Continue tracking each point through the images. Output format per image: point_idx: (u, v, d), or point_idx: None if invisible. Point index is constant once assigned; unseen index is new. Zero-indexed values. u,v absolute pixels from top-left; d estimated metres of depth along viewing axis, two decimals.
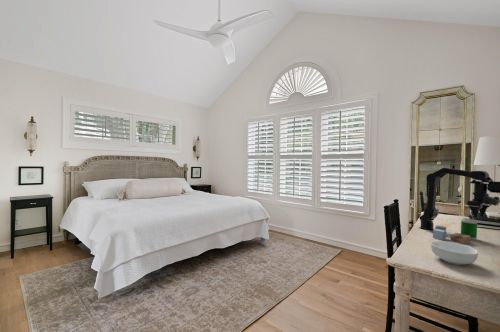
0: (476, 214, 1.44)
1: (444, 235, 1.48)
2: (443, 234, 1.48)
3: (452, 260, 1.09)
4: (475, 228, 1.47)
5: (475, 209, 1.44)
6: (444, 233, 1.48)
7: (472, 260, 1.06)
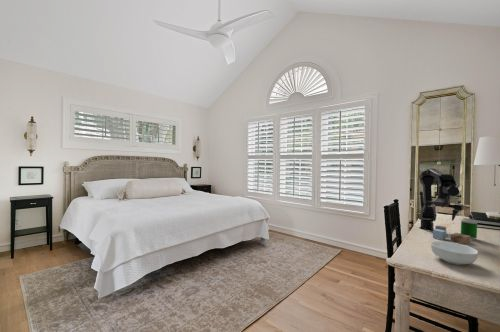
0: None
1: (444, 235, 1.48)
2: (443, 234, 1.48)
3: (452, 260, 1.09)
4: (475, 228, 1.47)
5: None
6: (444, 233, 1.48)
7: (472, 260, 1.06)
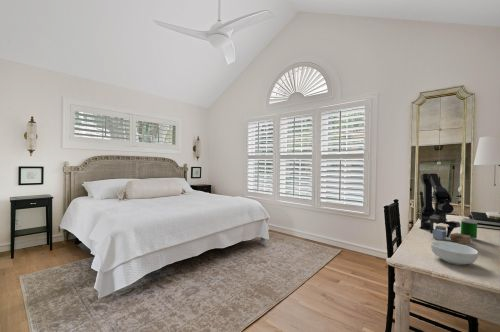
0: None
1: (444, 235, 1.48)
2: (443, 234, 1.48)
3: (452, 260, 1.09)
4: (475, 228, 1.47)
5: None
6: (444, 233, 1.48)
7: (472, 260, 1.06)
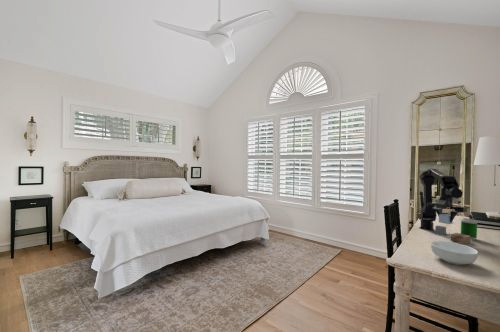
0: None
1: None
2: None
3: (452, 260, 1.09)
4: (475, 228, 1.47)
5: None
6: None
7: (472, 260, 1.06)
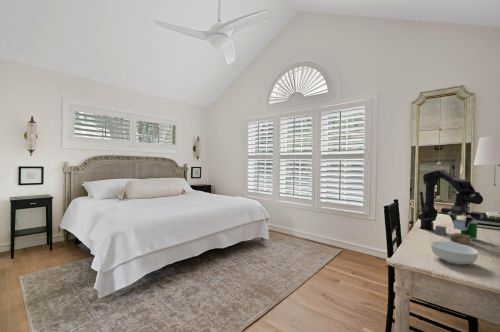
0: None
1: None
2: (465, 224, 1.42)
3: (452, 260, 1.09)
4: (475, 228, 1.47)
5: None
6: None
7: (472, 260, 1.06)
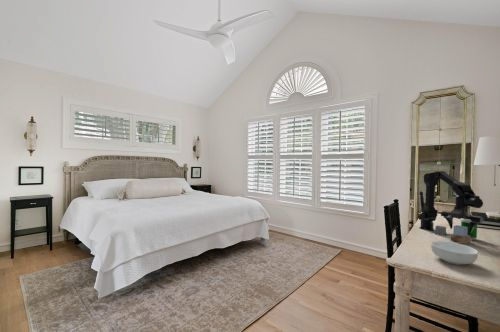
0: None
1: (465, 231, 1.42)
2: (465, 230, 1.42)
3: (452, 260, 1.09)
4: (475, 228, 1.47)
5: None
6: (465, 229, 1.42)
7: (472, 260, 1.06)
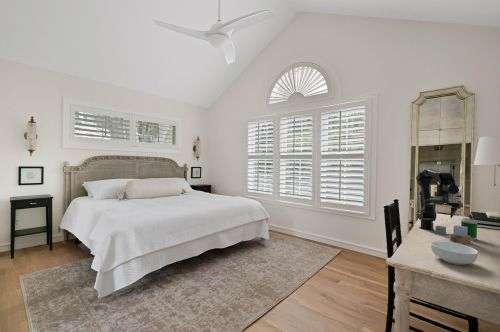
0: None
1: (465, 231, 1.42)
2: (465, 230, 1.42)
3: (452, 260, 1.09)
4: (475, 228, 1.47)
5: None
6: (465, 229, 1.42)
7: (472, 260, 1.06)
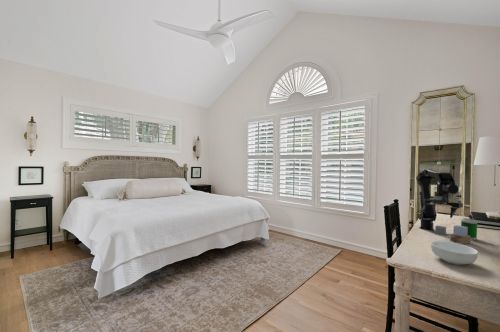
0: None
1: (465, 231, 1.42)
2: (465, 230, 1.42)
3: (452, 260, 1.09)
4: (475, 228, 1.47)
5: None
6: (465, 229, 1.42)
7: (472, 260, 1.06)
